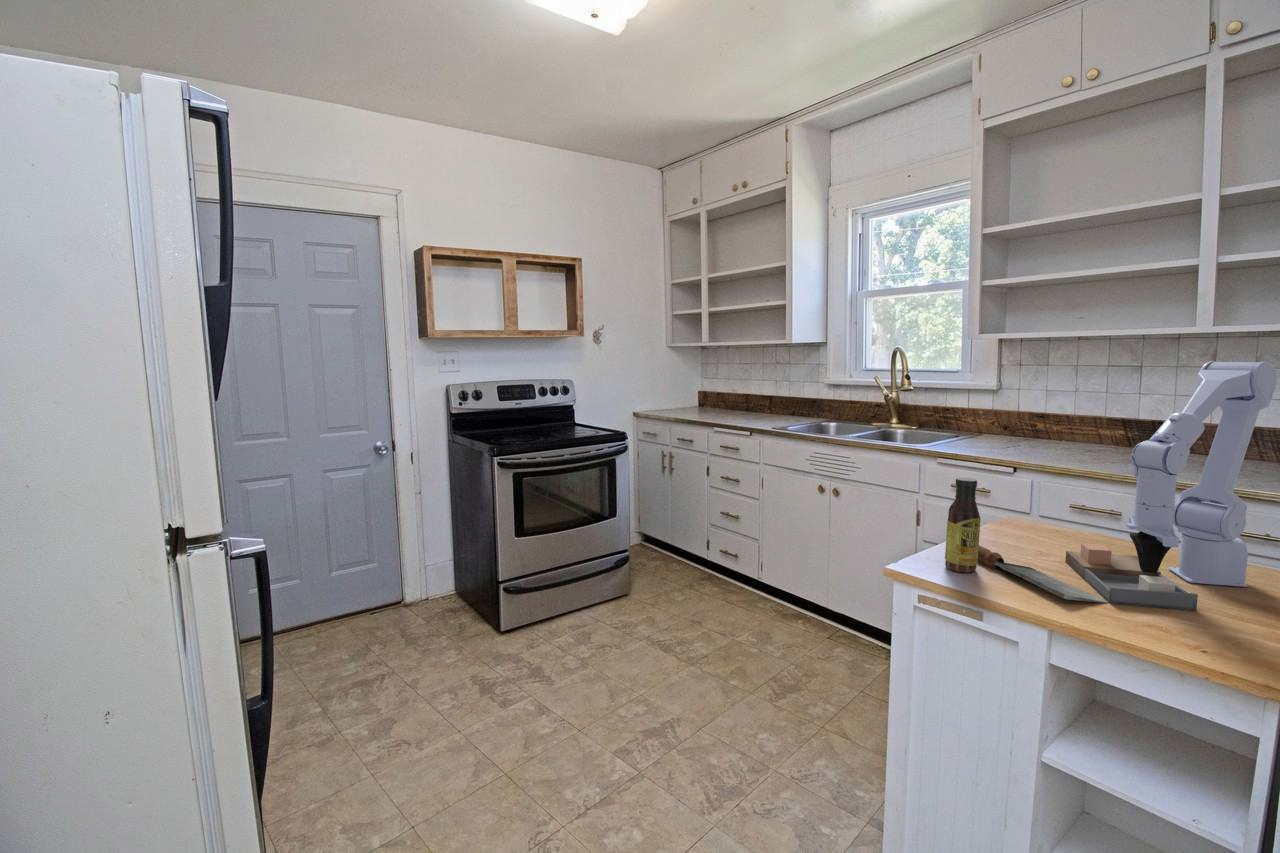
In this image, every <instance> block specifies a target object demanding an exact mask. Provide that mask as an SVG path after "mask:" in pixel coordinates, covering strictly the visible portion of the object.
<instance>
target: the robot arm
mask: <svg viewBox="0 0 1280 853" xmlns="http://www.w3.org/2000/svg"><path fill="white" fill-rule="evenodd" d="M1277 384H1278V375H1277V371H1276V368H1275V367H1274V366H1273V364H1272V363H1271V362H1269V361H1260V362H1259V361H1256V362H1255V361H1254V362H1253V361H1252V362H1251V361H1250V362H1249V361H1247V362H1246V361H1245V362H1244V361H1243V362H1242V361H1215V360H1211V361H1207V362H1206V363H1205V364H1204V365H1203V366H1202V367H1201V369H1200V370H1199V371H1198V373H1197V388H1196V390H1195V391H1194V393H1193V394H1192V395H1191V397H1190V399H1189V400H1188V402H1187V403H1186V405H1185V406H1184V407H1183V409H1182V410H1181V412H1174V413H1171V414H1170V415H1169V416H1168V417H1167V418H1166V420H1165V421H1163V423H1162V424H1161V425H1160V427H1159V428H1158V429H1157V430H1156V431H1155V433H1154V434H1152V436H1151V437H1150V438H1149V439H1148V440H1143V441H1142V442H1139V443H1137V444H1136V445H1135V446H1134V448H1133V449H1132V452H1131V454H1130V462H1131V465H1132V467H1133V476H1134V478H1136V487H1135V500H1134V501H1135V502H1134V510H1133V512H1134V513H1133V515H1128V522H1127V523H1126V524H1125V527H1126V528H1128V529H1129V530H1136V531H1138V532H1130V533H1129V537H1130V539H1131V541H1132V542H1133V544H1134V547H1135V551H1136V554H1137V555H1136V556H1138V560H1139V565H1140V569H1141V570H1142V571H1143V572H1146V573H1157V571H1159V568H1160V567H1161V564H1162V562H1163V559H1164V558H1165V556H1166V554H1167V553H1168V552H1169V551H1170V550H1171V549H1172V548H1180V549H1179V559H1178V567H1177V566H1176V567H1175V566H1174V567H1173V566H1168V570H1169V571H1171V572H1172V573H1174V574H1175V575H1177V576H1178V577H1179V578H1181V579H1182V580H1184V581H1185V582H1188V583H1192V584H1203V585H1204V584H1206V585H1216V586H1229V587H1230V586H1232V587H1245V588H1247V587H1248V583H1246V576H1247V568H1248V559H1249V555H1248V554H1249V552H1248V551H1249V550H1248V548H1247V545H1246V543H1245V542H1244V541H1243V540H1242V539H1241V538H1239V537H1240V536H1241V535H1243V533H1244V531H1245V529H1246V524H1247V523H1246V522H1247V518H1246V517H1247V510H1248V505H1247V504H1246V503H1245V501H1244V500H1243V499H1241V497H1239V496H1238V495H1237V494H1236V493H1235V492H1234V490H1235V486H1236V484H1237V483H1236V482H1237V480H1238V477H1239V474H1240V471H1241V469H1242V466H1243V463H1244V459H1245V456H1246V453H1247V450H1248V447H1249V444H1250V441H1251V437H1252V436H1253V432H1254V429H1255V427H1256V426H1255V425H1256V423H1257V420H1258V417H1259V413H1260V411H1261V410H1264V409H1265V408H1266V409H1267V408H1268V407H1269V406H1270V404H1271V401H1272V399H1273V396H1274V393H1275V390H1276V387H1277ZM1217 408H1220V409H1221V411H1222V414H1221V415H1220V416H1221V417H1220V419H1219V422H1218V426H1217V428H1216V430H1215V435H1214V438H1213V441H1212V443H1211V447H1210V449H1209V453H1208V456H1207V458H1206V461H1205V465H1204V468H1203V471H1202V474H1201V477H1200V480H1199V482H1198V484H1196V485H1194V486H1192V487H1189V488H1187V489H1185V490H1182V491H1181V493H1180V496H1179V497H1178V499H1177V501H1176V502H1175V499H1176V490H1177V488H1176V487H1177V480H1178V479H1177V477H1178V474H1179V473H1181V472H1182V471H1183V470H1184V469H1185V467H1186V465H1187V462H1188V457H1189V456H1190V454H1191V450H1190V448H1191V447H1192V446H1193V444H1195V442H1197V440H1198V439H1199V438H1200V437H1201V435H1202V434H1203V433H1204V432H1205V429H1206V426H1205V424H1204V423H1203V422H1204V421H1205V420H1206V419H1207V418H1208V417H1209V416H1210V415H1212V413H1213V412H1214V411H1215V410H1216V409H1217ZM1173 525H1174V526H1175V527H1176V528H1177V532H1178V533H1181V537H1179V536H1177V534H1176V531H1175V529H1174V527H1173ZM1180 538H1181V539H1180ZM1179 540H1180V547H1179Z"/></svg>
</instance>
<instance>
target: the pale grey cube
mask: <svg viewBox="0 0 1280 853" xmlns="http://www.w3.org/2000/svg"><path fill="white" fill-rule="evenodd" d="M1165 577H1166V576H1165ZM1165 577H1157V576H1145V575H1139V585H1138V589H1144V590H1156V591H1169V592H1175V584H1176V583H1175V584H1173V583H1174V582H1173V581H1172V580H1170V579H1169V578H1168V577H1166V578H1165ZM1168 579H1169V580H1170V581H1169V580H1168ZM1171 581H1172V582H1173V583H1172V582H1171Z"/></svg>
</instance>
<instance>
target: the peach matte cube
mask: <svg viewBox="0 0 1280 853" xmlns="http://www.w3.org/2000/svg"><path fill="white" fill-rule="evenodd" d="M1080 552H1081V553H1080V557H1081V558H1082V559H1083V560H1084V561H1086V562H1087V563H1091V564H1105V565H1111V554H1112V552H1113V551H1112V550H1111V549H1109V547H1107V546H1106V545H1104V544H1098V543H1096V544H1095V543H1080Z"/></svg>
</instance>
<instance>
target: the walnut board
mask: <svg viewBox="0 0 1280 853" xmlns="http://www.w3.org/2000/svg"><path fill="white" fill-rule="evenodd" d="M1080 553H1081V551H1072V550H1071V551H1069V550H1068V551H1065V559H1064V560H1065V563H1066V564H1067V565H1068V566H1069V567H1070V568H1071V569H1072V570H1073V571H1074V572H1076V573H1077V574H1078V576H1080V577H1081V578H1082V579H1083V580H1084V569H1088V570H1090V571H1091V572H1092V573H1104V574H1117V575H1130V576H1139V575H1145V576H1157V577H1158V574H1162V571H1159V570H1158V571H1157V573H1146V572H1143V571H1142V570H1141V569H1140V565H1139V560H1138V555H1131V554H1129V555H1128V554H1126V555H1124V554H1114V553H1113V554H1112V553H1111V565H1105V564H1091V563H1087V562H1086V561H1084V560H1083V559H1082V558H1081V557H1080Z"/></svg>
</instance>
